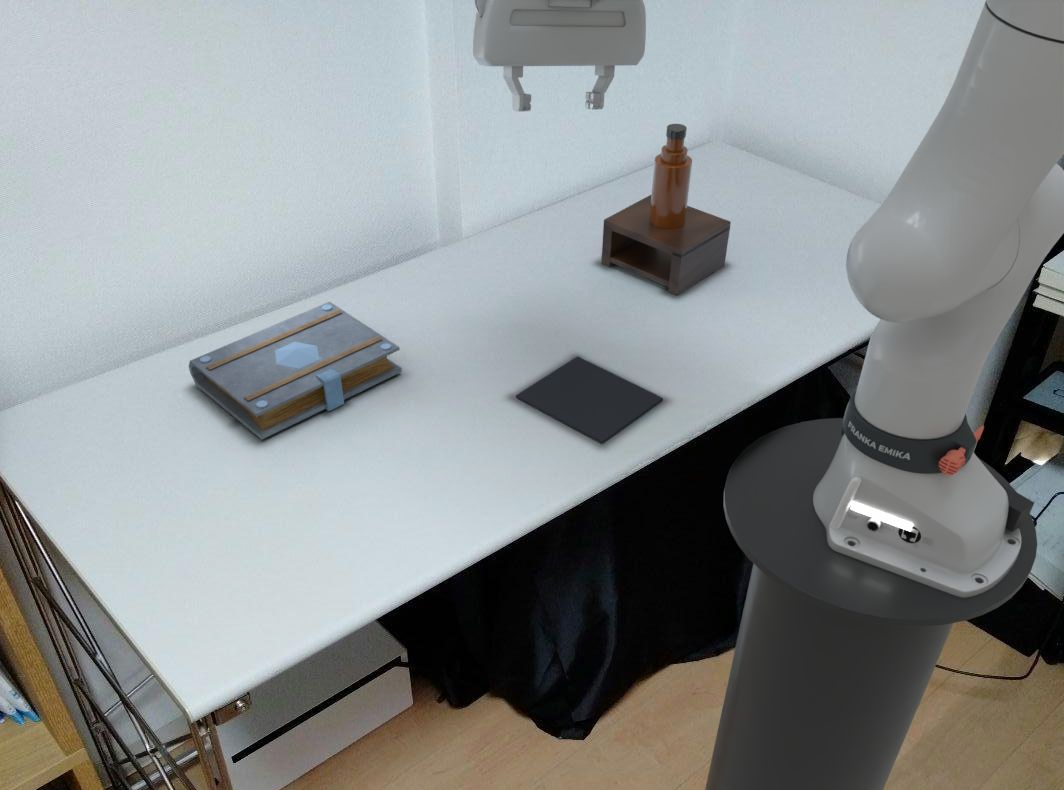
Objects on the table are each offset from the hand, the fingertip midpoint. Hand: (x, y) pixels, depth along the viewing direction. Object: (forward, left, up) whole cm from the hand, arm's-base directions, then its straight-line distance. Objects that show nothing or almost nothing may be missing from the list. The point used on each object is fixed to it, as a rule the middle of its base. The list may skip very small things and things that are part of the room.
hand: (558, 110), depth 118 cm
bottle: (+2, -28, -24) cm, 37 cm away
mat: (-12, +6, -31) cm, 34 cm away
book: (+18, +28, -31) cm, 46 cm away
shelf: (+2, -28, -31) cm, 42 cm away
